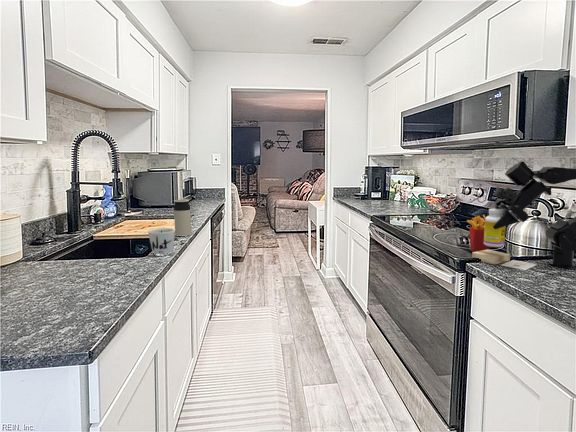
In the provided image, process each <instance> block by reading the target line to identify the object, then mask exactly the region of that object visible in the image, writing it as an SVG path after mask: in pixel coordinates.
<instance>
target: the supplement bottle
mask: <svg viewBox="0 0 576 432" xmlns="http://www.w3.org/2000/svg"><path fill="white" fill-rule="evenodd" d="M503 213H504V210H502V209H495V208H489V209H488V215H487V216H485V217H486V218H485V219H484V221H485V231H484V244H485V245H487V246H489V247H491V248H502V247H504V246H505V242H506V230H507V226H504V227H501V228H498V229H494V228H493V226H494V225H495V224H496V222H497V221H498V220H499V219H500V218H501V217H502V216H503Z"/></svg>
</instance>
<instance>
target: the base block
mask: <svg viewBox="0 0 576 432" xmlns="http://www.w3.org/2000/svg"><path fill="white" fill-rule="evenodd" d="M471 253H472V254H471V258H472V257H476V258H479V259H481V261H480V262H483V263H487V264H491V265H498V264H504V263H507V262H509V261H511V254H510V253H506V252H502V251H498V250H497V251H496V250H493V249H489V250H488V249H487V250H482V251H477V252H471Z"/></svg>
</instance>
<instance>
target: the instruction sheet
mask: <svg viewBox="0 0 576 432" xmlns="http://www.w3.org/2000/svg"><path fill="white" fill-rule="evenodd" d="M502 266H503V267H507V268H512V269H513V268H514V269H518V270H522V271H527V270H529V269H531V268H534V267H535V266H538V264H537V263H531V262H526V261H521V260H516V259H512V260H510V261H507V262H503V263H501V267H502Z"/></svg>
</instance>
